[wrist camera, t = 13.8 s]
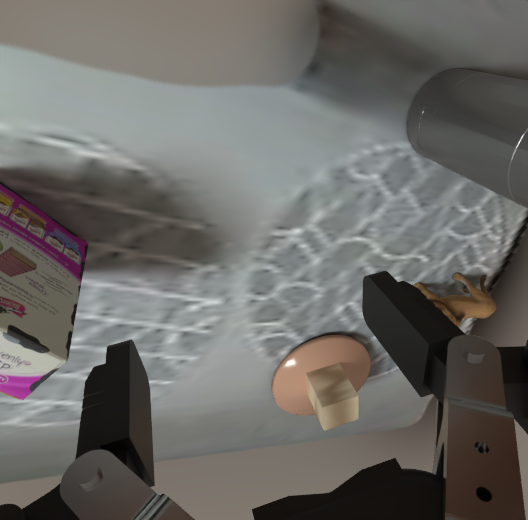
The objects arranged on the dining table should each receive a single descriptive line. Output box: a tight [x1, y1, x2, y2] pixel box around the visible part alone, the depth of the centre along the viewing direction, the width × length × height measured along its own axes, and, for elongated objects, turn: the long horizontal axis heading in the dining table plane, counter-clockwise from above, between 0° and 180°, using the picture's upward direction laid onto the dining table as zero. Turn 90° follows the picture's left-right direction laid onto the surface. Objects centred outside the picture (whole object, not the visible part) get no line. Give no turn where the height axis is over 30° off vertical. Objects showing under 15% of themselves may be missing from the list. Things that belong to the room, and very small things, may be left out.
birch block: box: [306, 363, 358, 431], centre depth 56 cm, size 5×5×6 cm
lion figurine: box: [414, 273, 496, 326], centre depth 54 cm, size 15×5×9 cm, turn 102°
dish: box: [272, 335, 371, 415], centre depth 59 cm, size 15×15×2 cm
